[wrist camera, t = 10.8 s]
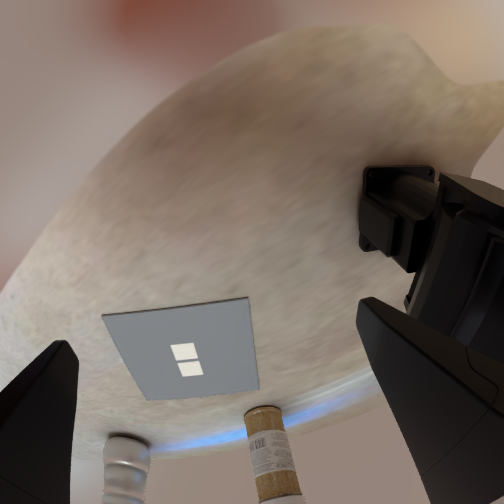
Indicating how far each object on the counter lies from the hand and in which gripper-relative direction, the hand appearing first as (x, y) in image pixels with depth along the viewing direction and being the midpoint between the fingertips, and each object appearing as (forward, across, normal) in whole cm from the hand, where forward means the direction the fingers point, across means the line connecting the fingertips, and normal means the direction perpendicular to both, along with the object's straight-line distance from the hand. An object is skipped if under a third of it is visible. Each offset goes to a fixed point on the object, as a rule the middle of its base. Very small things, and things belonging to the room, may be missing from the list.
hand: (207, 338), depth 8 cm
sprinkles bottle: (+12, -2, +26) cm, 29 cm away
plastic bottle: (+12, +17, +31) cm, 37 cm away
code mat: (+12, +4, +14) cm, 19 cm away
